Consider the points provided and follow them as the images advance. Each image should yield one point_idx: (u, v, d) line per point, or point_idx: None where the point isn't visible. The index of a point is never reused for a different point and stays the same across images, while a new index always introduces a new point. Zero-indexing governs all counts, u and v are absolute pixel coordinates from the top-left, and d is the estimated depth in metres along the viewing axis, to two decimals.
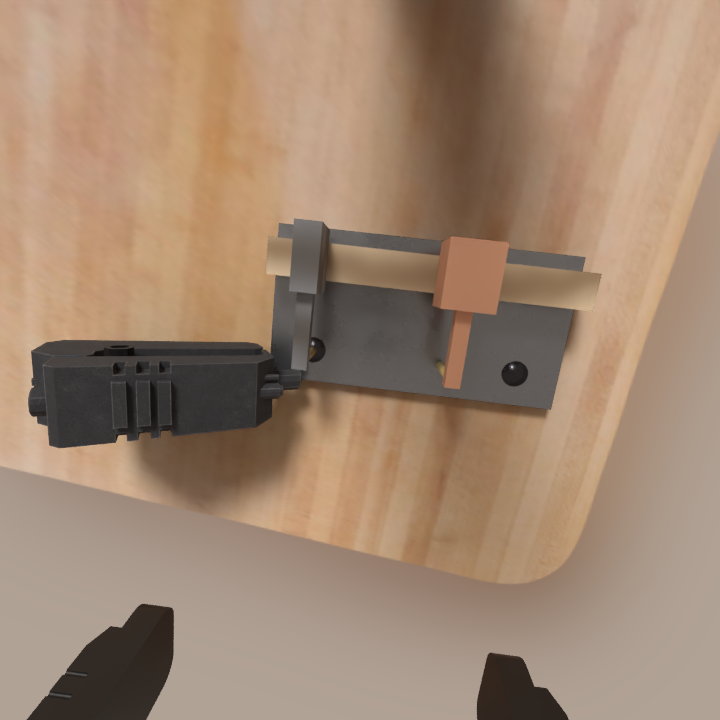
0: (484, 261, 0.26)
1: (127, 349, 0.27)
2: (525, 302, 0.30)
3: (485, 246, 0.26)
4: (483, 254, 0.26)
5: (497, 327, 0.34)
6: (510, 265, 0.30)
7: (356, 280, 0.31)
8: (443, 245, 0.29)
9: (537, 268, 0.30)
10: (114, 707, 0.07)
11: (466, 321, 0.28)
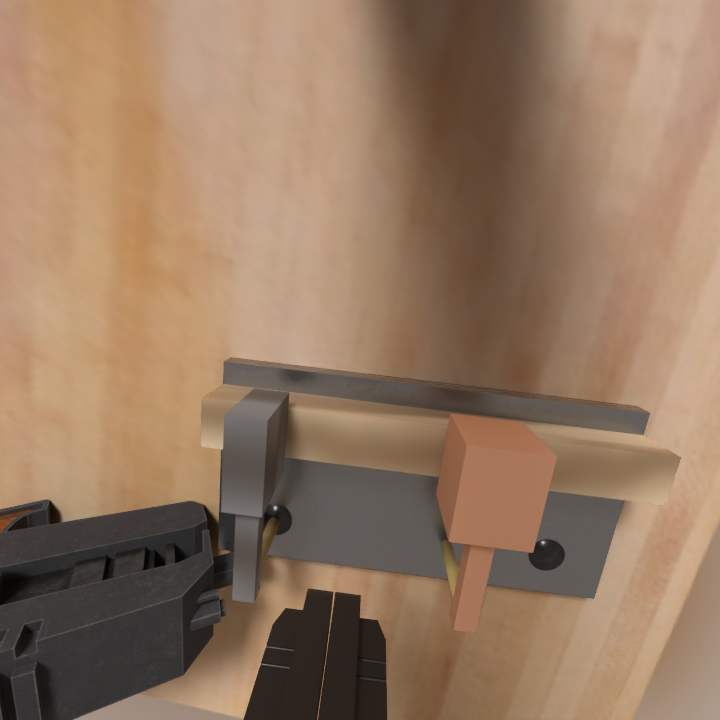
0: (517, 481, 0.17)
1: None
2: (568, 491, 0.21)
3: (519, 460, 0.17)
4: (515, 471, 0.17)
5: None
6: (548, 443, 0.21)
7: (327, 458, 0.22)
8: (453, 426, 0.19)
9: (587, 448, 0.21)
10: (321, 675, 0.08)
11: (487, 548, 0.19)
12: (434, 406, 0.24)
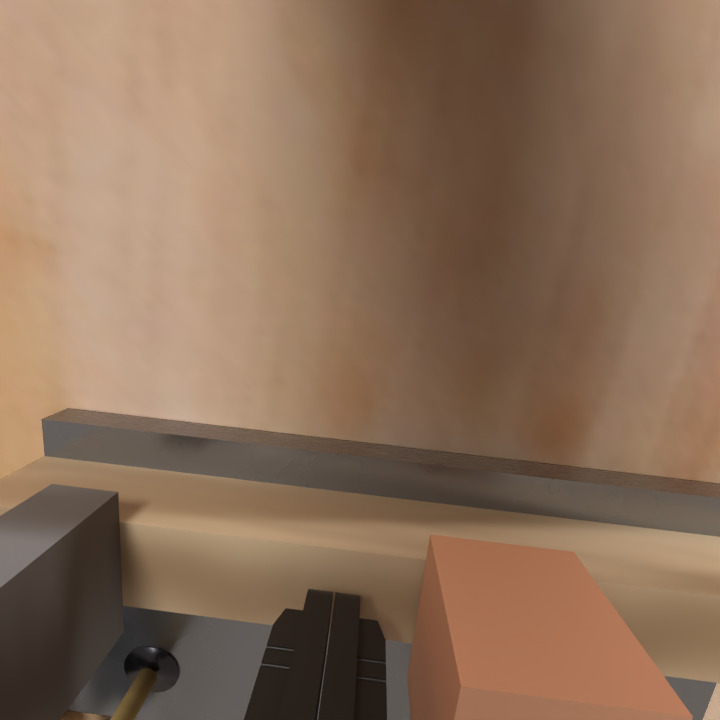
0: None
1: None
2: None
3: None
4: None
5: None
6: (619, 587, 0.11)
7: (201, 609, 0.12)
8: (434, 574, 0.09)
9: (695, 597, 0.11)
10: (321, 675, 0.08)
11: None
12: (405, 493, 0.14)
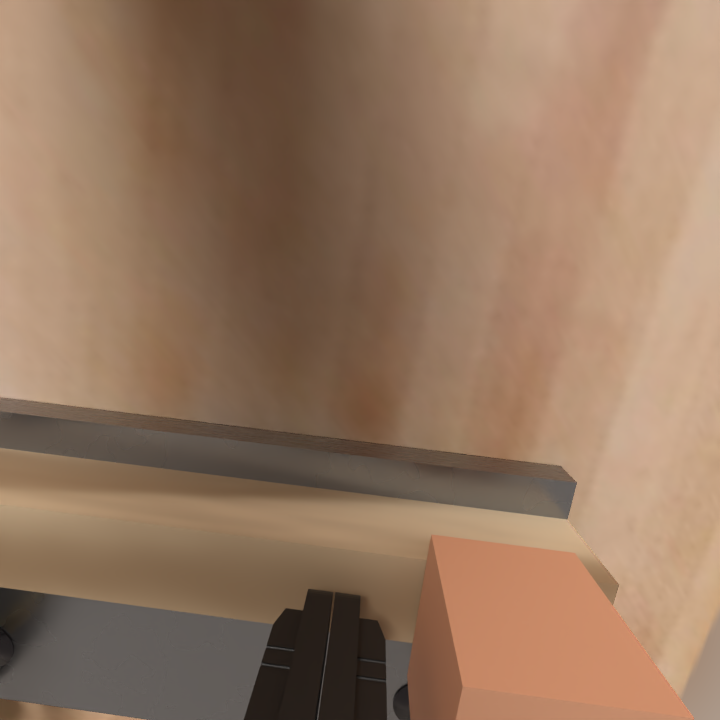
0: None
1: None
2: None
3: None
4: None
5: None
6: (368, 556, 0.11)
7: None
8: (435, 574, 0.09)
9: None
10: (321, 676, 0.08)
11: None
12: (212, 469, 0.14)
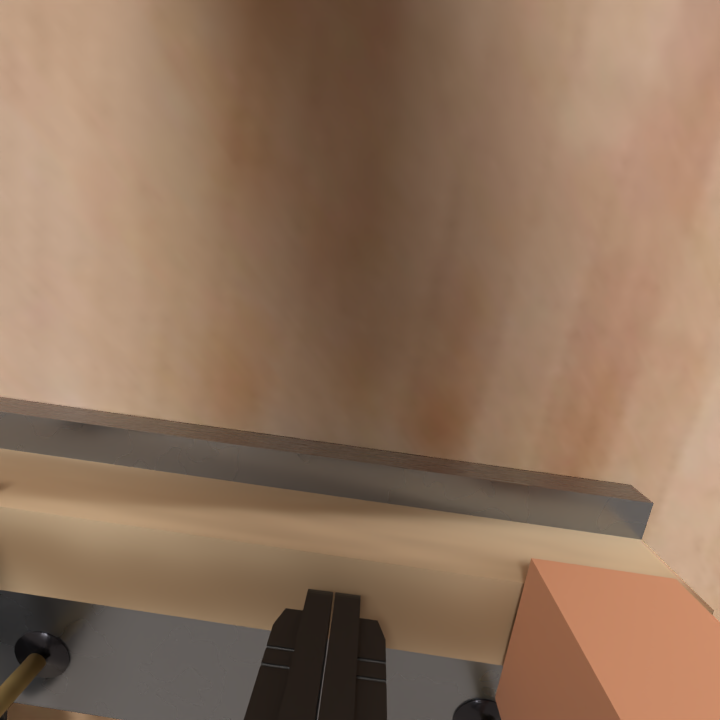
0: None
1: None
2: (501, 663, 0.11)
3: None
4: None
5: None
6: (460, 577, 0.11)
7: (56, 591, 0.12)
8: (545, 601, 0.09)
9: None
10: (321, 676, 0.08)
11: None
12: (283, 483, 0.14)
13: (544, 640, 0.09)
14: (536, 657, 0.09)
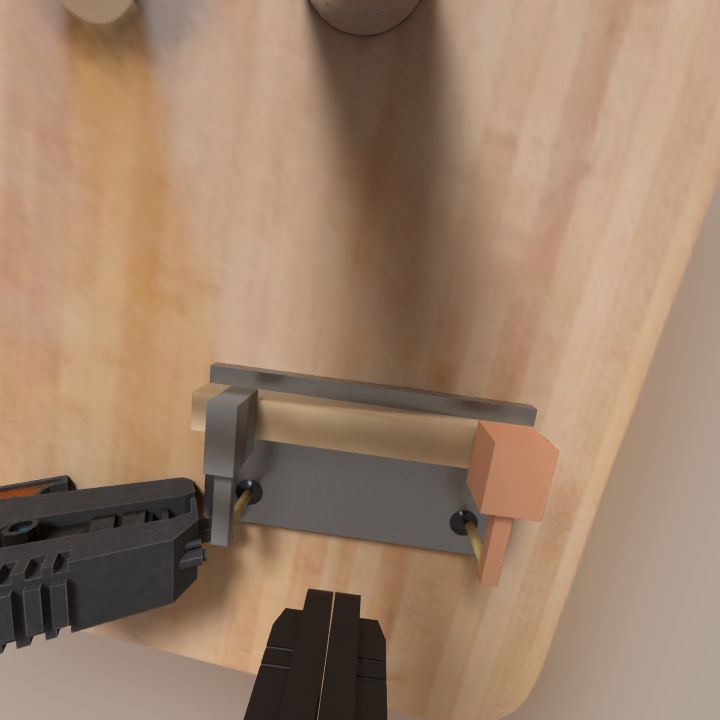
0: (531, 469, 0.24)
1: (27, 532, 0.25)
2: (468, 467, 0.28)
3: (532, 454, 0.23)
4: (529, 461, 0.23)
5: (444, 476, 0.32)
6: (451, 430, 0.28)
7: (287, 439, 0.28)
8: (481, 429, 0.26)
9: None
10: (321, 676, 0.08)
11: (507, 520, 0.25)
12: (373, 402, 0.31)
13: (480, 442, 0.26)
14: (478, 450, 0.26)
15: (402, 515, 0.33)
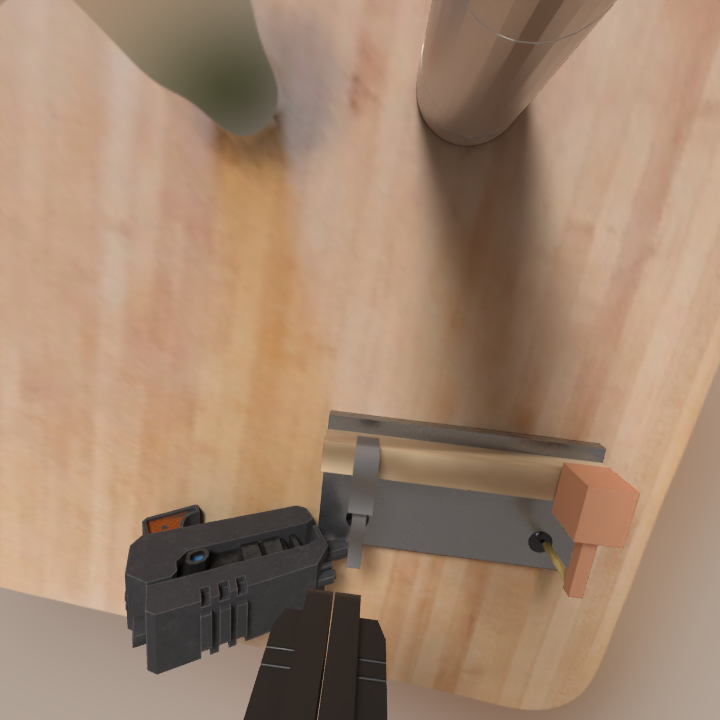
0: (616, 507, 0.29)
1: (205, 561, 0.31)
2: (553, 500, 0.34)
3: (618, 495, 0.29)
4: (615, 501, 0.29)
5: (525, 504, 0.38)
6: (540, 470, 0.34)
7: (401, 479, 0.34)
8: (568, 471, 0.32)
9: None
10: (321, 676, 0.08)
11: (592, 545, 0.31)
12: (466, 444, 0.37)
13: (568, 482, 0.32)
14: (566, 488, 0.32)
15: (488, 536, 0.38)
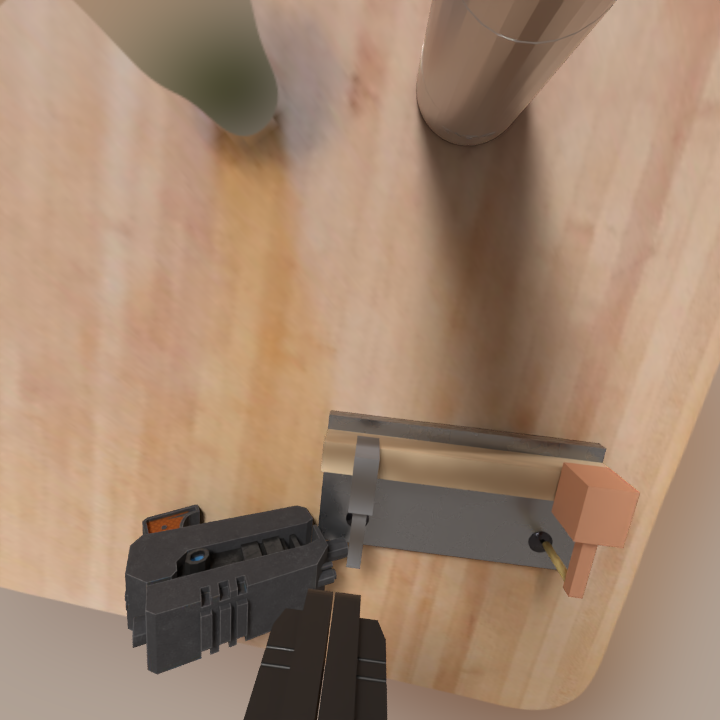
0: (616, 507, 0.29)
1: (205, 561, 0.31)
2: (553, 500, 0.34)
3: (618, 495, 0.29)
4: (615, 501, 0.29)
5: (525, 503, 0.38)
6: (540, 470, 0.34)
7: (401, 479, 0.34)
8: (569, 471, 0.32)
9: None
10: (321, 676, 0.08)
11: (592, 545, 0.31)
12: (466, 443, 0.37)
13: (568, 482, 0.32)
14: (566, 488, 0.32)
15: (488, 536, 0.38)
